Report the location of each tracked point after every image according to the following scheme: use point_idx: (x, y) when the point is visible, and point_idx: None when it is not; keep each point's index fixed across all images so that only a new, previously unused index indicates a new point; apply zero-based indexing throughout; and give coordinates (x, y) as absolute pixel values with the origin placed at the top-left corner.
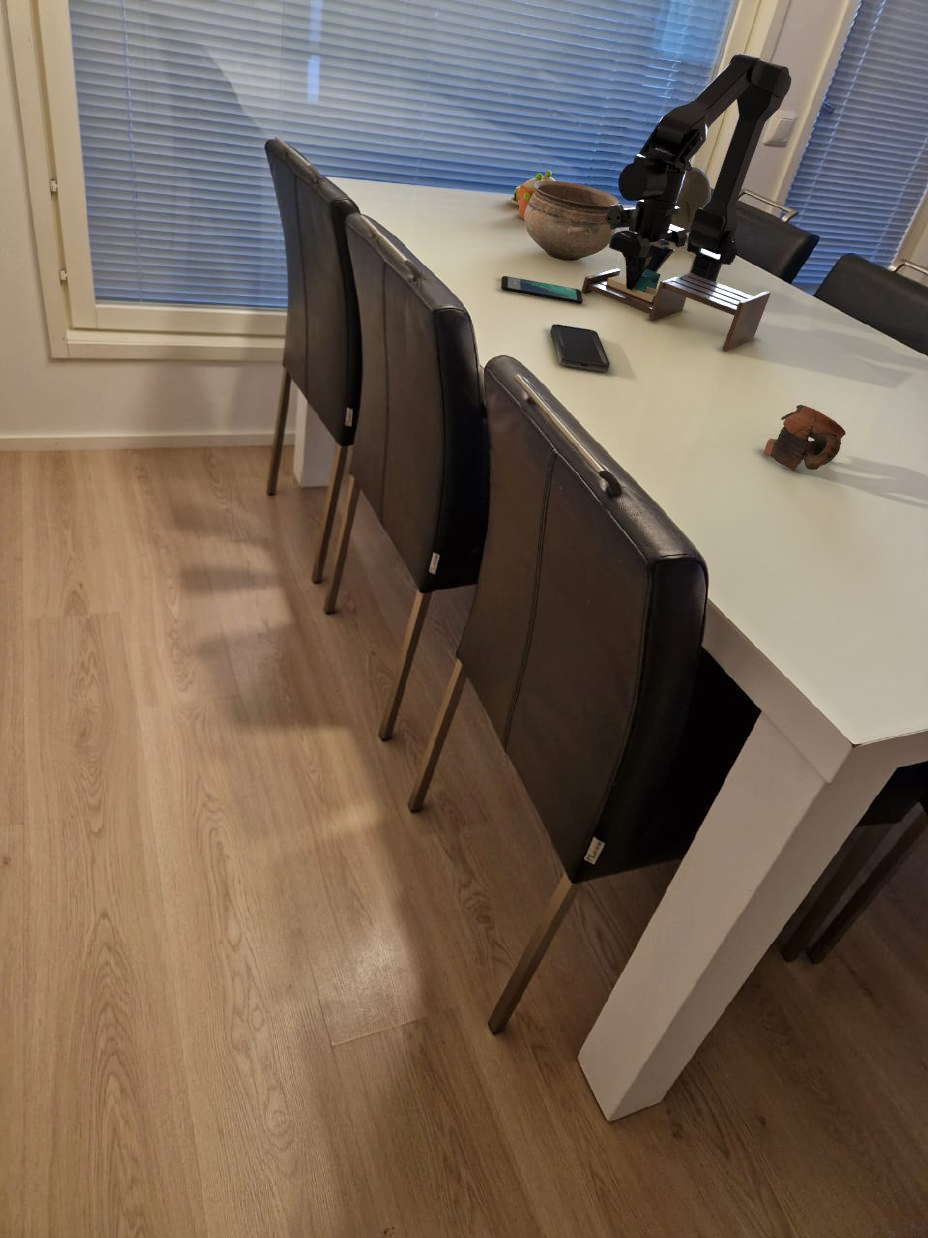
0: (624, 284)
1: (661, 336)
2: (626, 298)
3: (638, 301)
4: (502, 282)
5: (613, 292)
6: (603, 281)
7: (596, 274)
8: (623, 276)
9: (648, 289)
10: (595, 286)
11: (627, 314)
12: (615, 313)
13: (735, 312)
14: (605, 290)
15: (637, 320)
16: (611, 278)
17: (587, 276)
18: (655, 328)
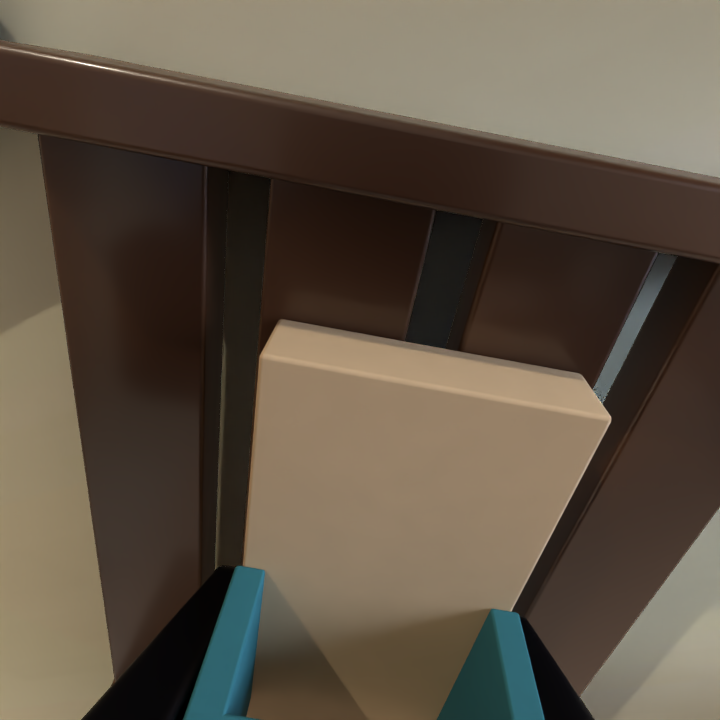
0: (247, 550)
1: (9, 696)
2: (106, 564)
3: (156, 628)
4: None
5: (117, 453)
6: (367, 244)
7: (295, 127)
8: (566, 467)
9: (354, 698)
10: (55, 250)
11: (90, 535)
12: (8, 482)
13: None
14: (75, 381)
15: (68, 592)
16: (301, 391)
17: (6, 53)
18: (73, 666)
